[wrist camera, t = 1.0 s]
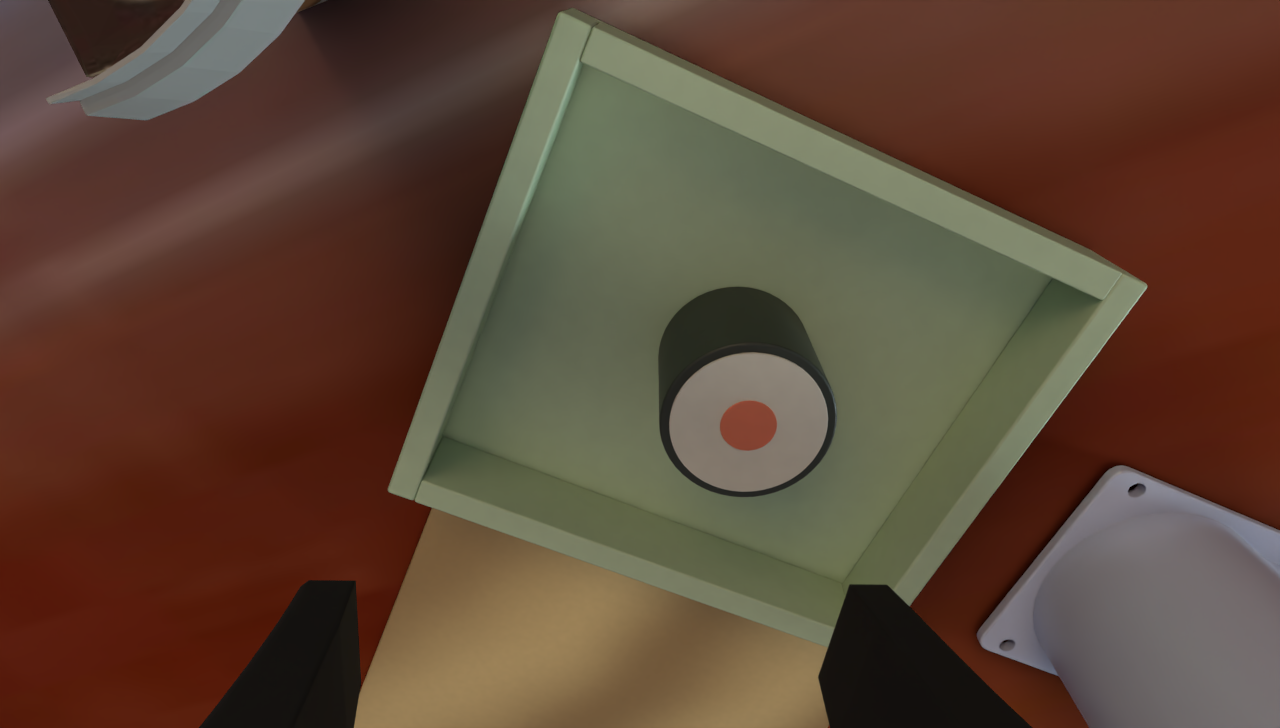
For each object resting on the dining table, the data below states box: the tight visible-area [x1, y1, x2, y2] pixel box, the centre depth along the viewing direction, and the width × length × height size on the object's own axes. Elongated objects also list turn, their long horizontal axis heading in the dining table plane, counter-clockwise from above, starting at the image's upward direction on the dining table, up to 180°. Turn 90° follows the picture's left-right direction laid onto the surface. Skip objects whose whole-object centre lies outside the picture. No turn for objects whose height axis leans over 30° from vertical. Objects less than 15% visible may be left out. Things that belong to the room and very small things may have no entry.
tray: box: [388, 8, 1147, 647], centre depth 23 cm, size 16×14×3 cm
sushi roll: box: [658, 287, 837, 497], centre depth 22 cm, size 4×4×4 cm
